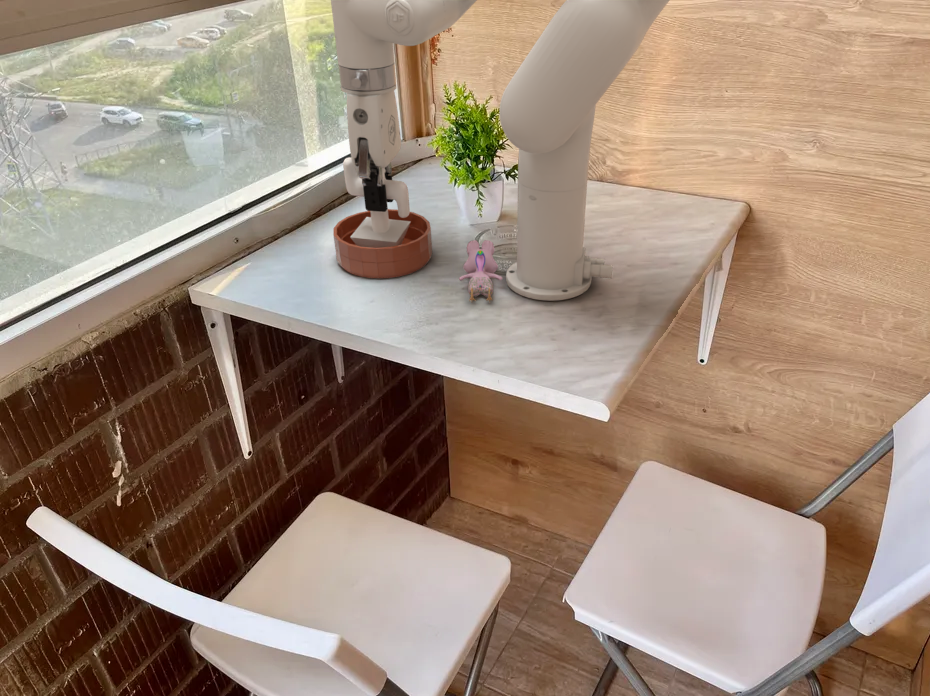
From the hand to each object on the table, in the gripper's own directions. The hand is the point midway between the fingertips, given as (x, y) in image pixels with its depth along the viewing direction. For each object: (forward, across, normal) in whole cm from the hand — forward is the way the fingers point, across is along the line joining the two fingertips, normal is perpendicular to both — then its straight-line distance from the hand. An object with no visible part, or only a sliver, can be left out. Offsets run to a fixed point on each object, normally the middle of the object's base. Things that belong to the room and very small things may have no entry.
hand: (379, 204), depth 115 cm
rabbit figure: (+9, -5, -16) cm, 19 cm away
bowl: (+9, 0, 0) cm, 9 cm away
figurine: (+8, 0, 0) cm, 8 cm away
